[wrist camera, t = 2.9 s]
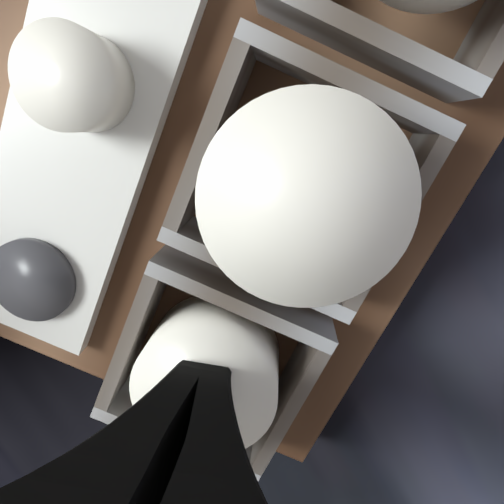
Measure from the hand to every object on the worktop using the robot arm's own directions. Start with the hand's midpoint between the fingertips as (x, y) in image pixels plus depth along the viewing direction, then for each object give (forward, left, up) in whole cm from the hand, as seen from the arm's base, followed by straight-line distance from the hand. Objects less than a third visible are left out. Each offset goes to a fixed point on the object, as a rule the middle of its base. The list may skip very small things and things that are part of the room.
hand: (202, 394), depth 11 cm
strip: (+6, -6, -2) cm, 9 cm away
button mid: (0, -6, 0) cm, 6 cm away
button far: (0, 0, -2) cm, 2 cm away
